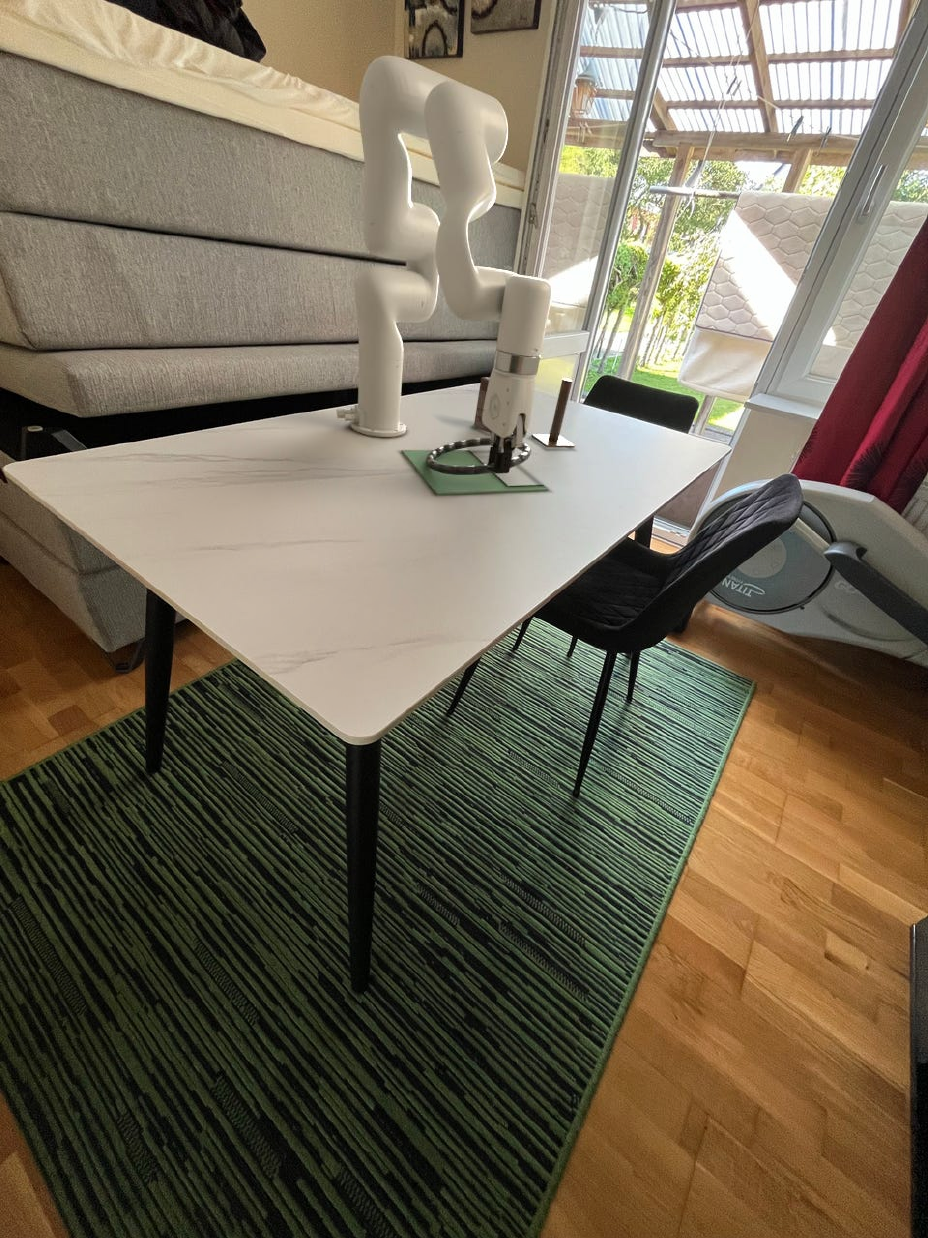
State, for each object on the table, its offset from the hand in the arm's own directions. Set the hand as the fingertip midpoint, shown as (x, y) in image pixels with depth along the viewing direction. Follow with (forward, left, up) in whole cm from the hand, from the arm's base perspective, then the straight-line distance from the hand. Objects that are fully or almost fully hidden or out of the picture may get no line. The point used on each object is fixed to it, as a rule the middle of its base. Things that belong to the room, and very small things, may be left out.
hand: (498, 469), depth 97 cm
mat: (0, +10, -4) cm, 11 cm away
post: (+29, +26, -4) cm, 39 cm away
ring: (0, +10, -1) cm, 10 cm away
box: (+15, +36, -5) cm, 40 cm away
